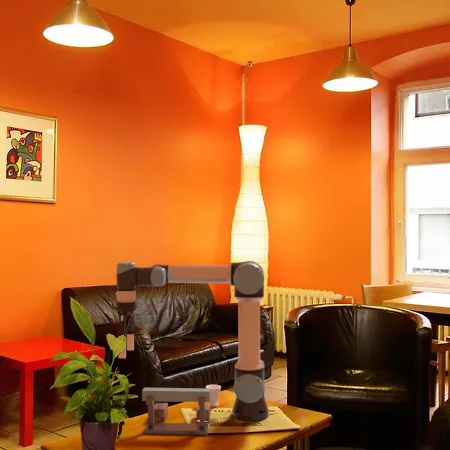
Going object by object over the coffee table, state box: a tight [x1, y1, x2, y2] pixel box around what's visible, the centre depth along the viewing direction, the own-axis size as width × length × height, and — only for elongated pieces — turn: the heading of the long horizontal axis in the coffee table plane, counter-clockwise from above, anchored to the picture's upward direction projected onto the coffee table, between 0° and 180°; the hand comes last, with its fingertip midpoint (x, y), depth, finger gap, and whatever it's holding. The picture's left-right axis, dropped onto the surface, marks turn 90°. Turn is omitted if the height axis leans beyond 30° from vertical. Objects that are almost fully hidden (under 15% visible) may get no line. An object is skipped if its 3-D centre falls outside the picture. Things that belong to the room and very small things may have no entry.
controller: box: [117, 420, 126, 437], centre depth 219 cm, size 4×12×10 cm, turn 25°
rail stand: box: [143, 396, 210, 436], centre depth 224 cm, size 24×8×14 cm, turn 86°
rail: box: [141, 387, 211, 403], centre depth 224 cm, size 26×4×4 cm, turn 86°
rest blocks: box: [154, 402, 212, 423], centre depth 238 cm, size 23×8×5 cm, turn 86°
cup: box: [205, 384, 222, 407], centre depth 255 cm, size 7×10×8 cm
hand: (126, 354), depth 232 cm, fingers open, 13 cm apart
